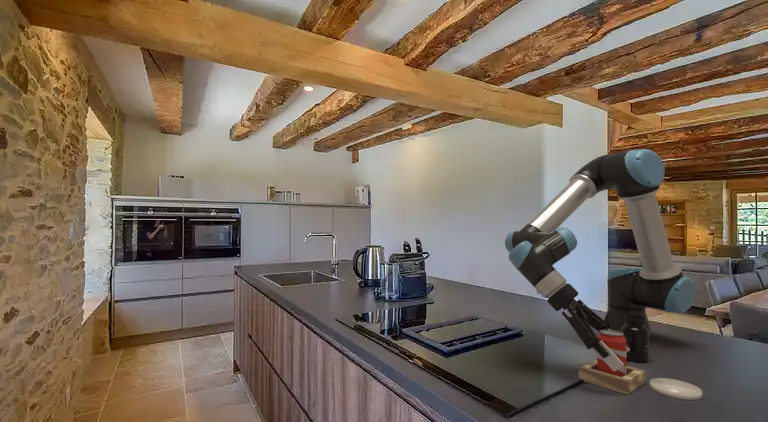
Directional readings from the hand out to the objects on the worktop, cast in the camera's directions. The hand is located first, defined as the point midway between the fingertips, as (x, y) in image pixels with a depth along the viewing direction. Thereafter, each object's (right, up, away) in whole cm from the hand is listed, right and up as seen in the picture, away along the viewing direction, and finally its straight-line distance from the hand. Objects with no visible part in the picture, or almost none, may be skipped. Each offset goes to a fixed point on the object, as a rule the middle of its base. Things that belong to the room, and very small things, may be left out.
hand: (622, 360), depth 99 cm
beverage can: (-2, -6, +1) cm, 6 cm away
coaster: (+10, -6, -4) cm, 12 cm away
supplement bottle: (+14, -6, +18) cm, 24 cm away
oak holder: (-2, -6, +1) cm, 6 cm away
